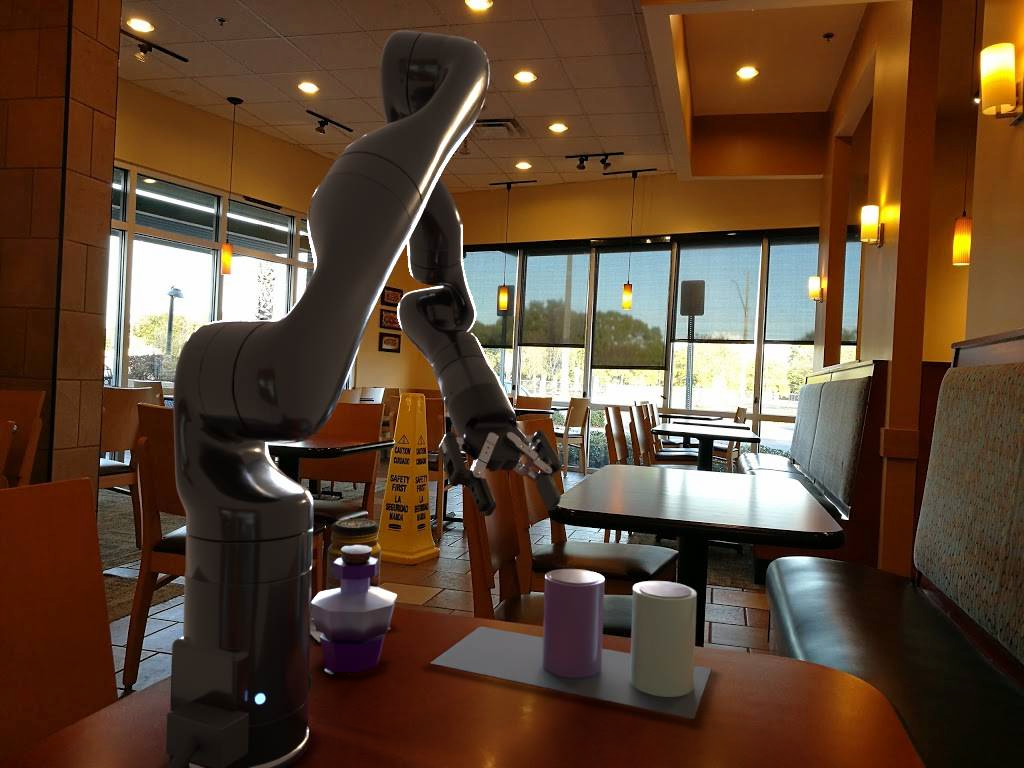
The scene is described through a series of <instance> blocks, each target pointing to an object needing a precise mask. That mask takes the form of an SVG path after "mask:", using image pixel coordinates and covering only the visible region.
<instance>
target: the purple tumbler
mask: <svg viewBox="0 0 1024 768" xmlns="http://www.w3.org/2000/svg"><path fill="white" fill-rule="evenodd" d="M605 585H606V579H605V576H603V575H602V574H600V573H597V572H594V571H590V570H586V569H579V568H578V569H577V568H562V569H554V570H550V571H548V572H546V573H545V575H544V591H543V592H544V595H543V624H542V628H543V629H542V638H543V650H542V666H543V668H544V669H545V670H546V671H548V672H550V673H552V674H554V675H558V676H562V677H568V678H585V677H590V676H594V675H596V674H598V673H599V672H600V671H601V669H602V649H603V643H604V638H603V637H604V617H605V616H604V613H605V589H606V586H605Z"/></svg>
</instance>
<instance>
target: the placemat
mask: <svg viewBox="0 0 1024 768" xmlns="http://www.w3.org/2000/svg"><path fill="white" fill-rule="evenodd" d="M542 650H543V636H542V637H541V636H535V635H531V634H525V633H519V632H513V631H508V630H504V629H503V630H502V629H498V628H492V627H486V626H481V625H480V626H479V627H477V628H476V629H475V630H473V631H472V632H470V633H469V634H468V635H466V636H465V637H464V638H463V639H461V640H460V641H458V642H457V643H455V644H454V645H453V646H451V647H450V648H449V649H447V650H446V651H444V652H443V653H442V654H440V655H439V656H438V657H437V658H435V659H434V660H432V661H430V662H429V664H430V665H434V666H439V667H443V668H449V669H453V670H456V671H463V672H466V673H471V674H472V673H473V674H478V675H481V676H486V677H492V678H496V679H499V680H505V681H510V682H514V683H519V684H524V685H529V686H533V687H538V688H543V689H548V690H552V691H557V692H562V693H566V694H571V695H576V696H581V697H585V698H590V699H595V700H600V701H605V702H610V703H615V704H618V705H623V706H629V707H632V708H637V709H641V710H647V711H651V712H656V713H661V714H666V715H671V716H674V717H675V716H676V717H681V718H686V719H689V720H695V717H696V714H697V712H698V709H699V706H700V704H701V700H702V697H703V696H704V692H705V689H706V687H707V685H708V681H709V679H710V676H711V673H712V670H713V669H712V668H711V667H706V666H699V665H695V664H694V682H693V690H692V691H691V692H690V693H688V694H686V695H683V696H678V697H662V696H655V695H651V694H647V693H644V692H642V691H640V690H638V689H636V688H635V687H634V686H632V684H631V683H630V653H629V652H625V651H618V650H612V649H608V648H607V649H606V648H602V669H601V671H600V672H599V673H598V674H596V675H594V676H590V677H585V678H568V677H562V676H558V675H554V674H552V673H550V672H548V671H546V670H545V669H544V668H543V666H542Z"/></svg>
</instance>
